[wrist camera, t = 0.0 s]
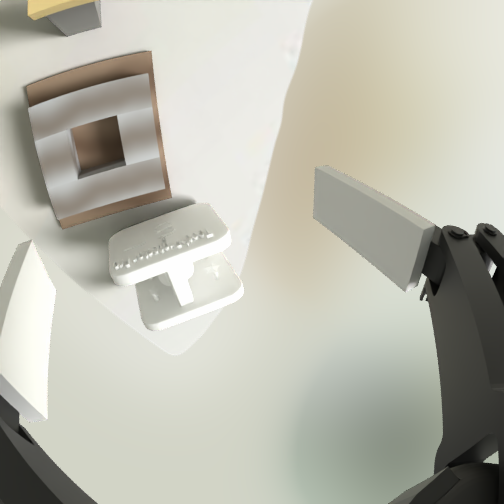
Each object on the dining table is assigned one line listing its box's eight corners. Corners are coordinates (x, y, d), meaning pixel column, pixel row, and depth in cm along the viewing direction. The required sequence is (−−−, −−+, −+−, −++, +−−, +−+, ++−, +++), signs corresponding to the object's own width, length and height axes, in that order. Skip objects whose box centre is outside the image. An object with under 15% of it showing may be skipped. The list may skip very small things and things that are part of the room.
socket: (28, 86, 24) (16, 86, 21) (150, 51, 29) (154, 46, 25) (63, 227, 36) (58, 243, 32) (170, 195, 40) (177, 208, 37)
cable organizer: (132, 285, 45) (142, 338, 36) (106, 229, 39) (107, 277, 30) (220, 253, 49) (248, 297, 40) (205, 194, 43) (234, 229, 34)
